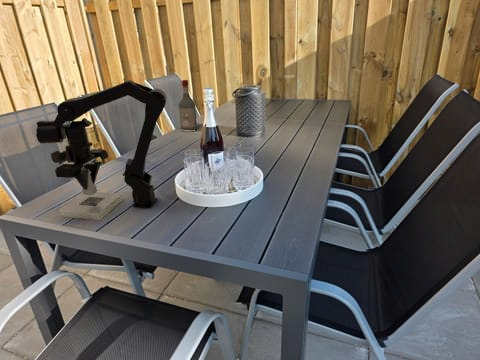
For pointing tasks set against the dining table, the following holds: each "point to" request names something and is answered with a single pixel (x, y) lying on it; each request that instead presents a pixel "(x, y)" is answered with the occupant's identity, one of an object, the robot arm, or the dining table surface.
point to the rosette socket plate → (82, 210)
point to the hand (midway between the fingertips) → (89, 186)
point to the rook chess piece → (90, 186)
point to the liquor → (187, 109)
